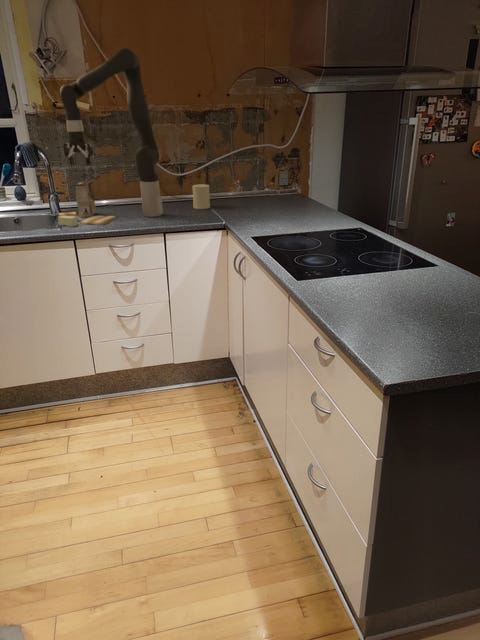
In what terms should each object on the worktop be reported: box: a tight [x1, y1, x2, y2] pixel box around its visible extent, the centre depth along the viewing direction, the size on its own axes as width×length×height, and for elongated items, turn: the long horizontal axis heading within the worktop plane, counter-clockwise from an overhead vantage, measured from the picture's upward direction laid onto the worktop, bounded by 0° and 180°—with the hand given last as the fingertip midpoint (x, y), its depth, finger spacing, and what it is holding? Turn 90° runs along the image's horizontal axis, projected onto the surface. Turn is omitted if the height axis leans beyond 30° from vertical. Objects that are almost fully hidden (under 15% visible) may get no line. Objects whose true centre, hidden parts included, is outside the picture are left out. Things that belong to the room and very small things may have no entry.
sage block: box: [57, 215, 79, 227], centre depth 232 cm, size 8×4×4 cm, turn 67°
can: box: [191, 183, 211, 210], centre depth 262 cm, size 9×9×12 cm
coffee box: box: [73, 181, 97, 218], centre depth 248 cm, size 9×6×16 cm
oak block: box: [58, 211, 78, 218], centre depth 239 cm, size 8×4×4 cm, turn 107°
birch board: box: [79, 214, 117, 226], centre depth 239 cm, size 12×14×1 cm
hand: (80, 165), depth 241 cm, fingers open, 8 cm apart
